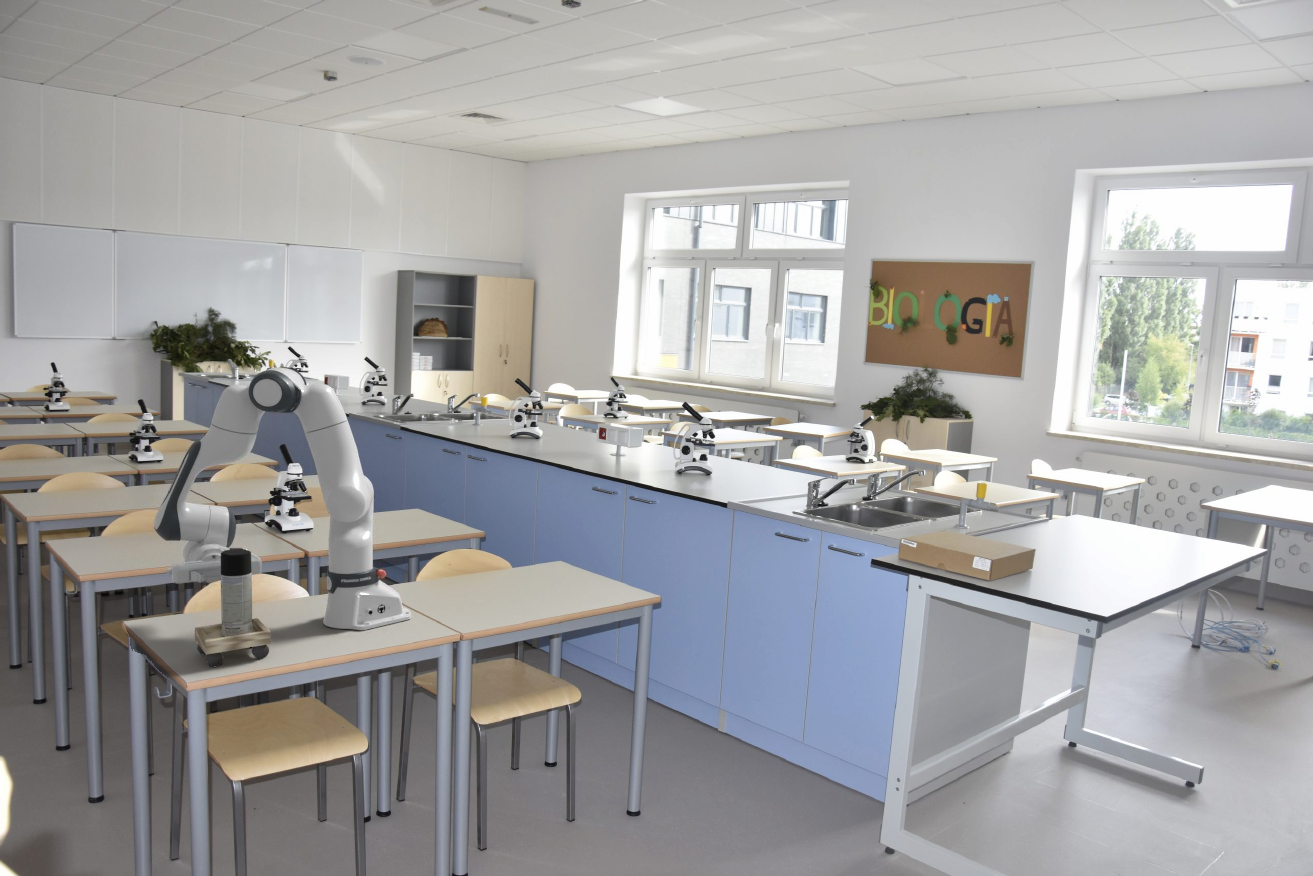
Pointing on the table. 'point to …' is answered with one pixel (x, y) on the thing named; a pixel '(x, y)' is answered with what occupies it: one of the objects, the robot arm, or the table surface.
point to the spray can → (236, 592)
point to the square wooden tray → (231, 641)
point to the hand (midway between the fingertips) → (224, 576)
